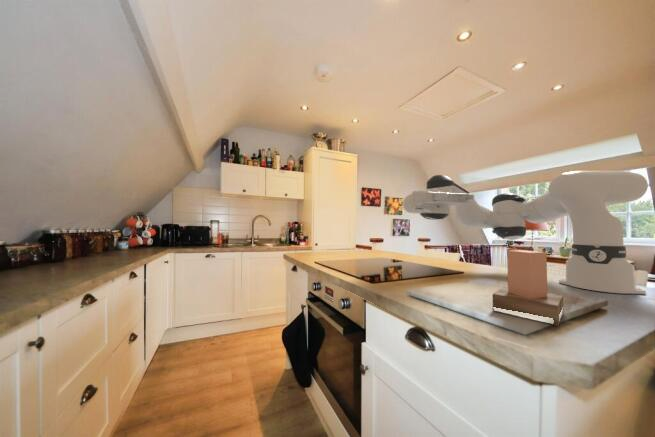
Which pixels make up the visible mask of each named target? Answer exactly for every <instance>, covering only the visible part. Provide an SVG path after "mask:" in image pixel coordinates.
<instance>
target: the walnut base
mask: <svg viewBox="0 0 655 437" xmlns="http://www.w3.org/2000/svg"><path fill="white" fill-rule="evenodd" d="M493 307H496V308H501V309H506V310H512V311H518V312H523V313H529V314H533V315H538V316H543V317H549V318H553V320H554V323H553V324H552V326H557V327H558V326H559V325H560V323H561V320H560V321H559V314H560V312H561V310H562V307H563V308H564V295H561V294H555V293H549V292H547V297H544V298H531V299H530V298H526V297H523V296H519V295H516V294H512V293H508V286H503V287H501V288H500V289H498V290H497V291H495V292H493V293H492V308H493Z"/></svg>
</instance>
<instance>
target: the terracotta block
mask: <svg viewBox="0 0 655 437" xmlns="http://www.w3.org/2000/svg"><path fill="white" fill-rule="evenodd" d="M506 254H507V287H508V293H512V294H516V295H519V296H523V297H526V298H530V299H531V298H544V297H547V293H548V267H547V266H548V264H547V262H548V261H547V259H548V257H547V252H546V251H545V252H544V251H537V250H535V251H534V250H527V249H526V250H524V249H523V250H522V249H521V250H515V249H514V250H512V249H511V250H507V252H506Z"/></svg>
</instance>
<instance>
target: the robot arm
mask: <svg viewBox="0 0 655 437" xmlns="http://www.w3.org/2000/svg"><path fill="white" fill-rule="evenodd" d="M648 186H649V184H648V180H647V178H645V176H644V175H642V174H639V173H635V172H631V171H625V170H574V171H568V172H563V173H559V174H557V175H555V176H554V177H553V178H552V179H551V181H550V183H549V184H548V191H547V192H545V193H543V194H541V195H539V196H537V197H535V198H534V199H531V200H530V201H529V200H528V201H526V199H525V198H524V197H522V196H520V195H518V194H516V193H512V192H504V193H501V194H497V195H496V196H494V197H493V198H492V200H491V206H492V210H491V209H489V208H487V207H485V206H484V205H483V206H482V205H481V204H479V203H478V201H476V199H475V194H474V193H471V192H470V191H468V190H466V189H465V188H464V187H462V186H460V185H459V184H457V183H455V181H453V180H452V179H451V177H449V176H447V175H443V174H442V175H441V174H435V175H433V176H431V178H429V179H428V180H427V181H426V189H424V190H413V191H412V192H411V193H410V194H407V196H405V198H404V199H403V202H402V207H403V209H404V211H405V212H406V213H409V214H419V215H420V216H421V217H422V218H423V219H426V220H444V219H446V218H447V217H448V216H449V215H450V208H451V206H455V216H456V218H457V221H458V222H459V223H460V224H461V225H463V226H465V227H466V228H467V227H468V228H471V229H480V230H481V229H482V230H483V229H484V230H485V229H492V231H491V232H492V233H493V234H495V235H497V237H499V238H501V239H503V240H507V241H515V240H519V239H522V238H524V237H525V236H526V235H527V227H526V222H529V223H531V224H544V223H549V222H552V221H555V220H558V219H561V218H565V217H567V216H568V217H569V218H570V222H571V227H572V241H573V242H572V244H571V248H570V250H571V255H572V256H571V257H570V258H568V259H566V261H565V278H561V279H559V280H558V283H559V284H563V285H567V286H571V287H574V288H578V289H583V290H584V289H585V290H591V291H594V292H595V291H596V292H602V293H612V294H613V293H614V294H626V295H627V294H635V295H636V294H637V295H646V294H647V291H646V290H645V289H642V288H640V287H638V286H637V284H636V273H635V265H633V264H632V263H630V262H629V261H628V260H627V259H626V258H627V247H626V246H624V227H623V226H624V225H623V224H624V223H623V222H622V221H621V219H620V218H619V217H617V216H614V215H613V214H611V212H610V211H609V210H608V208H607V207H609V206H610V207H611V206H613V205H614V206H615V205H619V204H624V203H630V202H634V201H638V200H639V199H641V198H642V197H643V196H644V195H645V194H646V193H647V190H648ZM525 220H526V221H525Z"/></svg>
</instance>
